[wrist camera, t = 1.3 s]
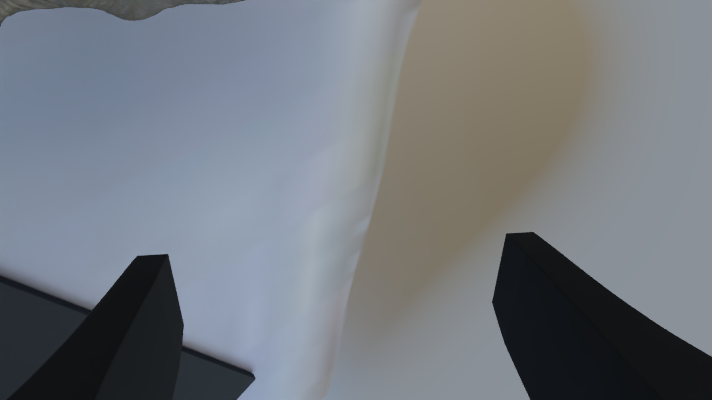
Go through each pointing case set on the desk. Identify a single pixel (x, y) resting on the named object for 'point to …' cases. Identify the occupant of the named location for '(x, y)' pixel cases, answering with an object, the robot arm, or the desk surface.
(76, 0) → the rhino figurine
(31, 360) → the back mat
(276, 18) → the desk surface
